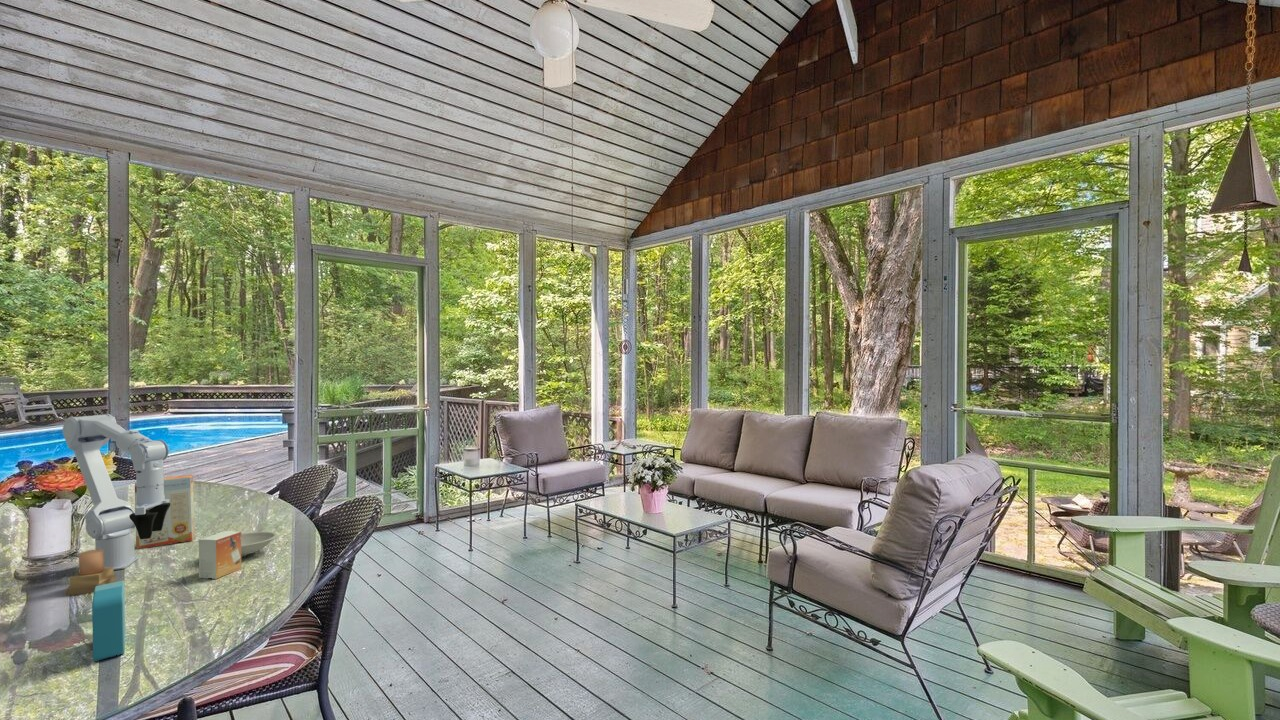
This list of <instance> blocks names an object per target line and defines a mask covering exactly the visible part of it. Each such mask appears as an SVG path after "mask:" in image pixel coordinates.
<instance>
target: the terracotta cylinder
mask: <svg viewBox="0 0 1280 720" xmlns="http://www.w3.org/2000/svg"><path fill="white" fill-rule="evenodd" d="M78 569H79V571H78V573H79V575H90V574H95V573H99V572H101V571H103V570H104V551H103V550H96V549H93V550H88V551H85V552H81V553H79V554H78Z"/></svg>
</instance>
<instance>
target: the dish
mask: <svg viewBox="0 0 1280 720" xmlns="http://www.w3.org/2000/svg"><path fill="white" fill-rule="evenodd" d="M277 537H278V533H277V532H273V531H252V532H244V533H241V558H243V556H244V557H246V556H247V555H250V554H254V553H255V552H259V551H261V550H262V549H264V548H265V547H267V546H268V545H270V543H271V542H272V541H273V540H274V539H276V538H277Z"/></svg>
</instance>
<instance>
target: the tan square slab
mask: <svg viewBox="0 0 1280 720" xmlns="http://www.w3.org/2000/svg"><path fill="white" fill-rule="evenodd" d="M114 582H116V574H114V576H112V577H111V578H109V579H107V580H106V581H104V582H102V583H101V584H97V585H87V586H77V587H70V586H68V587H67V588H66V594H65V595H66V597H70V596H79V595H86V594H94V590H95V587H96V586H99V585H104V584H109V583H114Z"/></svg>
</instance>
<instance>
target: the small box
mask: <svg viewBox="0 0 1280 720" xmlns="http://www.w3.org/2000/svg"><path fill="white" fill-rule="evenodd" d="M241 534H242V532H241V531H234V530H233V531H232V530H224V531H221V532H218V533H215V534H213V535H212V534H211V535H209V536H206V537H203V538H200V539H198V578H199V579H208V578H212V579H211V580H217V579H219V578H222V577H224V576H227V575H229V574H232V573H234V572H237V571H240V570H242V557H241Z"/></svg>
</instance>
